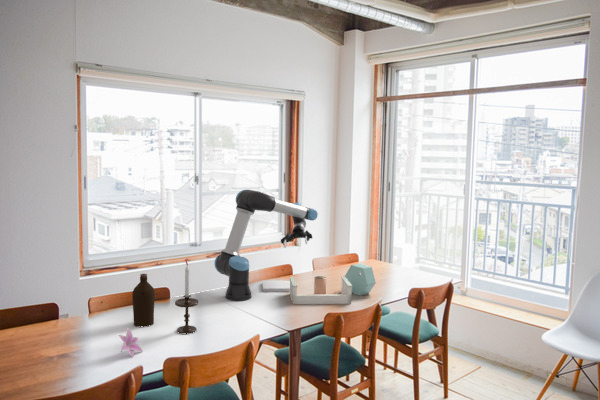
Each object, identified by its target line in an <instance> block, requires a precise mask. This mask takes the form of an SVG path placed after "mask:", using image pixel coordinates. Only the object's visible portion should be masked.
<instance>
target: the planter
mask: <svg viewBox="0 0 600 400" xmlns="http://www.w3.org/2000/svg"><path fill="white" fill-rule="evenodd" d="M344 277H346V278H347V279H348V281H349V282H350V283H351V284H352V294H354V295H358V296H360V297H361V296H364V295H369V294H370V293H371V291H372V289H373V288H374V287H375V285H376V278H375V275H374V271H373V267H372V266H370V265H366V264H363V263H356V264H351V265H350V266H349V268H348V270H347V271H346V273H345V275H344Z"/></svg>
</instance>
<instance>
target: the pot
mask: <svg viewBox="0 0 600 400" xmlns="http://www.w3.org/2000/svg"><path fill="white" fill-rule="evenodd" d="M313 285H314V286H313V294H327V276H323V275H317V276H314V284H313Z"/></svg>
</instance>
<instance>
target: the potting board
mask: <svg viewBox="0 0 600 400" xmlns="http://www.w3.org/2000/svg"><path fill="white" fill-rule="evenodd" d="M261 286H262V292H264V293H267V292H268V293H269V292H270V293H271V292H275V293H277V292H278V293H279V292H280V293H283V292H284V293H288V292H289V293H290V280H261Z"/></svg>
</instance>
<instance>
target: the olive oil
mask: <svg viewBox="0 0 600 400" xmlns="http://www.w3.org/2000/svg"><path fill="white" fill-rule="evenodd" d="M139 276H140V277H139V283H138V284H137V285H136V286H135V287H134V288H133V290H132V293H131V294H132V296H131V297H132V312H133V325H134V326H135V327H137V326H140V327H139V328H145V327H144V326H147V327H149V325H150V326H152V325H154V324H155V323H154V319H155V303H156V301H155V300H156V291H155V288H154V287H153V286H152V285H151V284H150V283H149V282H148V274H147V273H140V275H139ZM141 326H143V327H141Z"/></svg>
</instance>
